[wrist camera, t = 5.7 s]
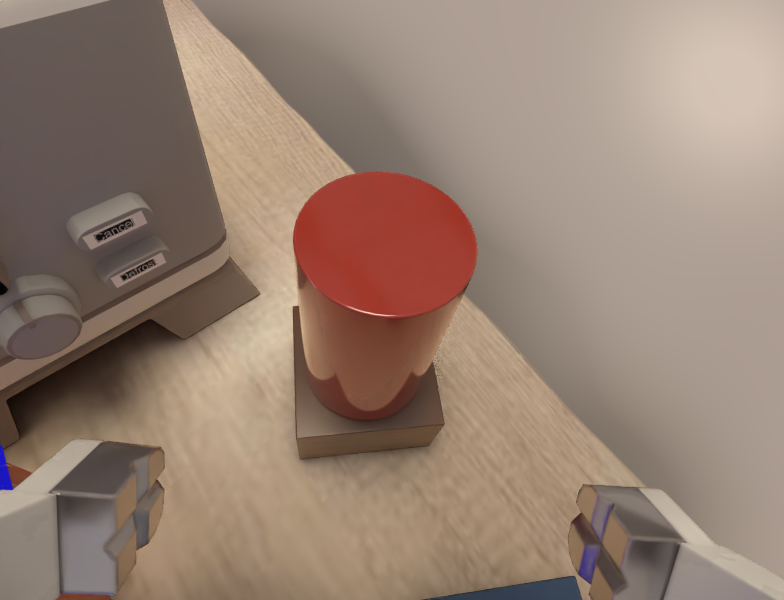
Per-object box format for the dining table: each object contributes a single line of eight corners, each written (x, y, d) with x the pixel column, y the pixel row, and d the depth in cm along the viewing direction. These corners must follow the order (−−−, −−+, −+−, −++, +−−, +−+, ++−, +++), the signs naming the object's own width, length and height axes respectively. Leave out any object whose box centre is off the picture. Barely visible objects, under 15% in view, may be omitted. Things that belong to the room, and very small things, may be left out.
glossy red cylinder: (414, 307, 26) (458, 170, 17) (433, 415, 23) (497, 312, 14) (302, 313, 25) (290, 170, 16) (306, 426, 22) (295, 323, 13)
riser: (410, 332, 29) (421, 299, 26) (429, 445, 26) (445, 424, 23) (296, 339, 28) (292, 305, 25) (299, 459, 25) (295, 438, 21)
